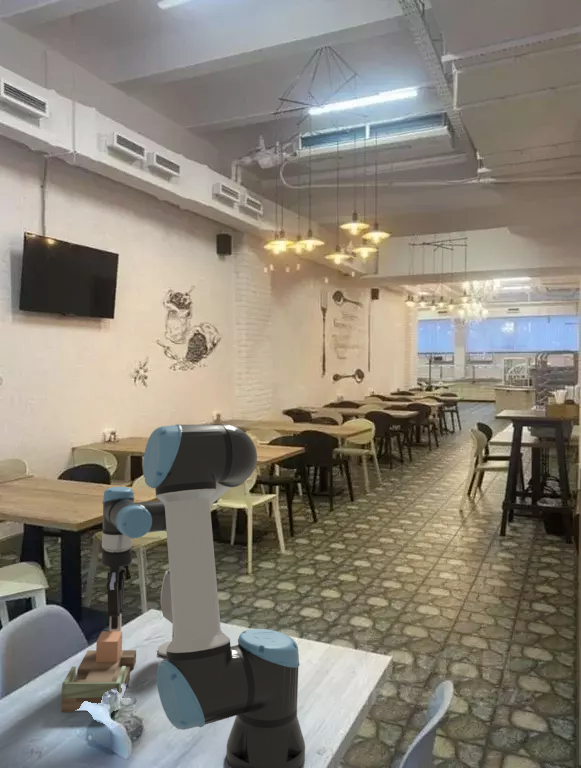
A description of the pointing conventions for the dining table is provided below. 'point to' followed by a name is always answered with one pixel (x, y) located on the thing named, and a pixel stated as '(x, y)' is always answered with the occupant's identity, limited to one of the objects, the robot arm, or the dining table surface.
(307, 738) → the dining table surface
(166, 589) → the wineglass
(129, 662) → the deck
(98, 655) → the block
